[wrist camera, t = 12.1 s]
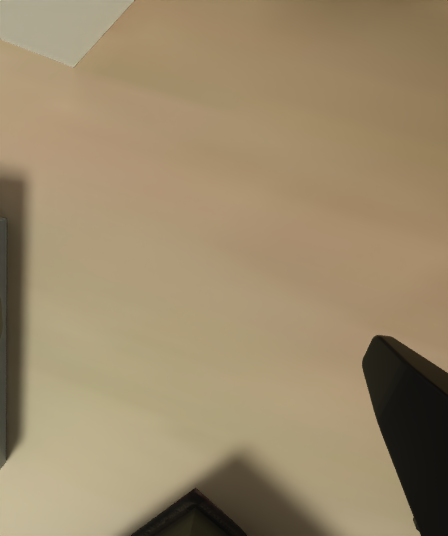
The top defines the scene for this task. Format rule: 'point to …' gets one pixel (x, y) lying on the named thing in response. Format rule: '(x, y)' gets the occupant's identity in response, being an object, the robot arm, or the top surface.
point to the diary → (191, 519)
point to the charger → (58, 25)
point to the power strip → (3, 338)
